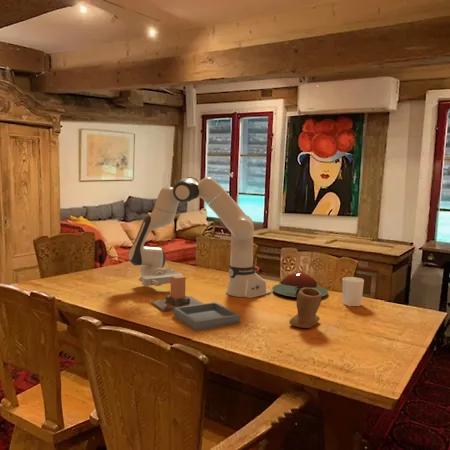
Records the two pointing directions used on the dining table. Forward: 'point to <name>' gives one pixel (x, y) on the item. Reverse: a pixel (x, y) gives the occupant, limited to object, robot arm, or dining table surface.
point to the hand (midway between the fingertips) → (168, 282)
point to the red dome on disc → (297, 285)
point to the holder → (175, 303)
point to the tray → (206, 316)
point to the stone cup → (307, 308)
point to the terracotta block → (178, 287)
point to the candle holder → (352, 291)
